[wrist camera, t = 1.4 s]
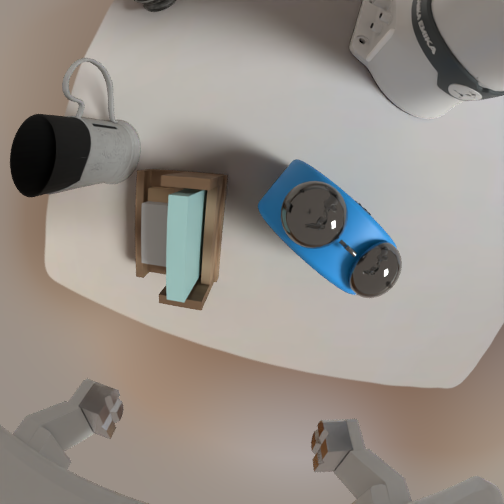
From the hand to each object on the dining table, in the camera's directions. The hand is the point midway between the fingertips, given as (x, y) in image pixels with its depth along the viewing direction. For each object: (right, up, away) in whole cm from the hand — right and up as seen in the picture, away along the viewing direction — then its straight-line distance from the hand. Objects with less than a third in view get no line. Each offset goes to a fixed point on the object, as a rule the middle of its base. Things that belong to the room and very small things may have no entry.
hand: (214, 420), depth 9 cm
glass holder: (-16, +22, +21) cm, 34 cm away
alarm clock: (+9, +11, +23) cm, 27 cm away
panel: (-5, +9, +23) cm, 25 cm away
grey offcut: (-9, +9, +21) cm, 25 cm away
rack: (-7, +10, +24) cm, 27 cm away
